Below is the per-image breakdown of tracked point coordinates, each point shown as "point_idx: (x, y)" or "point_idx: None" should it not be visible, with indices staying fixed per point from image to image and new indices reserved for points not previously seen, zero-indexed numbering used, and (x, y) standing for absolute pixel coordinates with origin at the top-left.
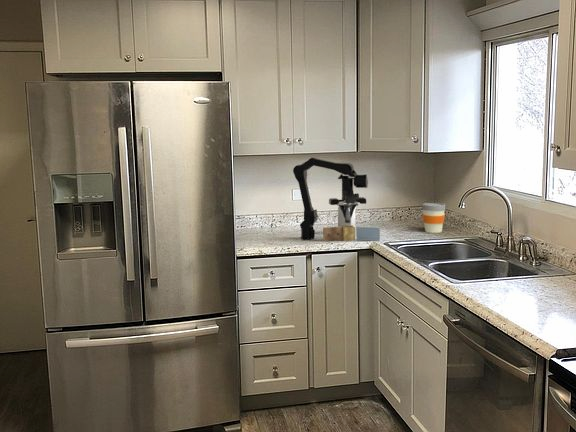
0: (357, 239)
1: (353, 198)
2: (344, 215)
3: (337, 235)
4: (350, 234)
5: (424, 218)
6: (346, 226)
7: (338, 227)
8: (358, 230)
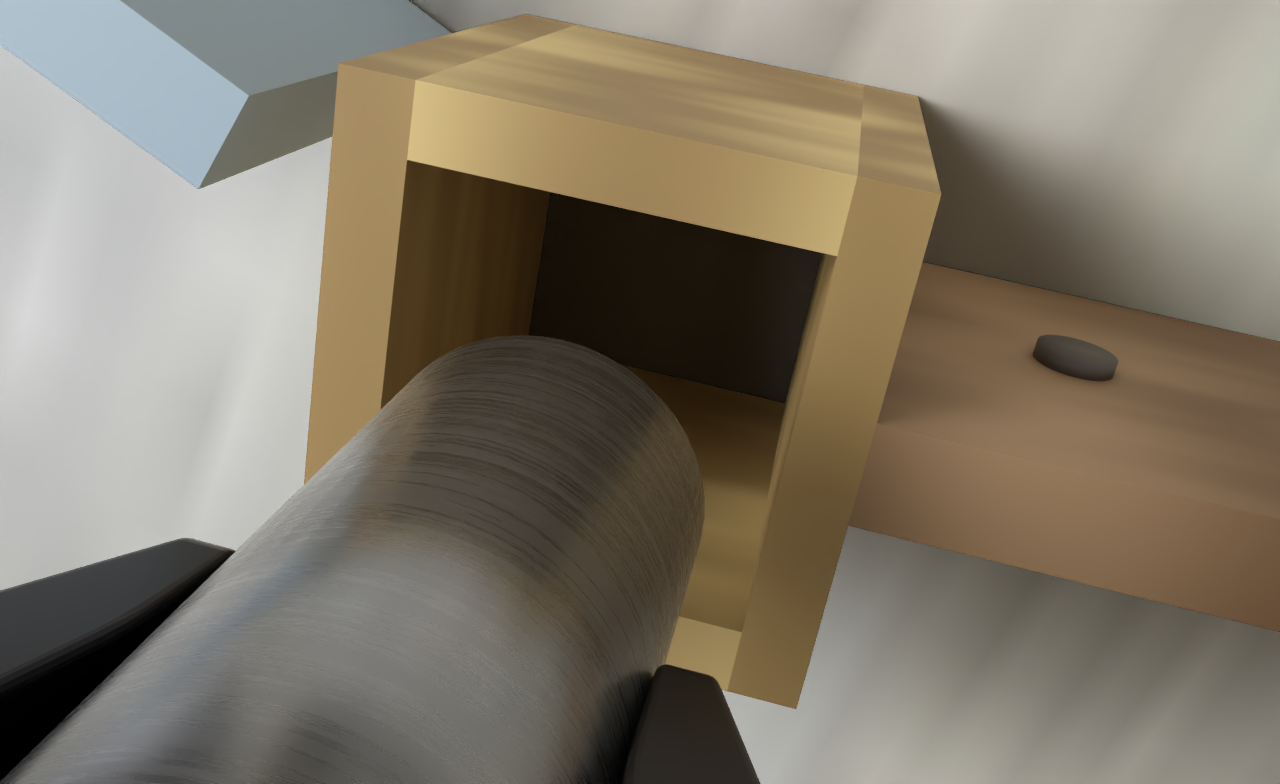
0: (428, 17)
1: None
2: (698, 758)
3: (1083, 345)
4: (639, 70)
5: None
6: None
7: (1086, 469)
8: (247, 15)
